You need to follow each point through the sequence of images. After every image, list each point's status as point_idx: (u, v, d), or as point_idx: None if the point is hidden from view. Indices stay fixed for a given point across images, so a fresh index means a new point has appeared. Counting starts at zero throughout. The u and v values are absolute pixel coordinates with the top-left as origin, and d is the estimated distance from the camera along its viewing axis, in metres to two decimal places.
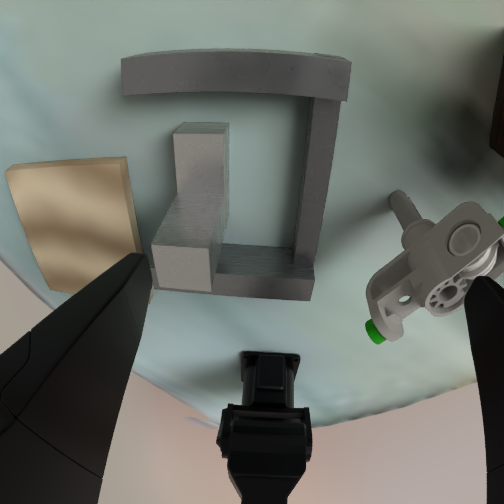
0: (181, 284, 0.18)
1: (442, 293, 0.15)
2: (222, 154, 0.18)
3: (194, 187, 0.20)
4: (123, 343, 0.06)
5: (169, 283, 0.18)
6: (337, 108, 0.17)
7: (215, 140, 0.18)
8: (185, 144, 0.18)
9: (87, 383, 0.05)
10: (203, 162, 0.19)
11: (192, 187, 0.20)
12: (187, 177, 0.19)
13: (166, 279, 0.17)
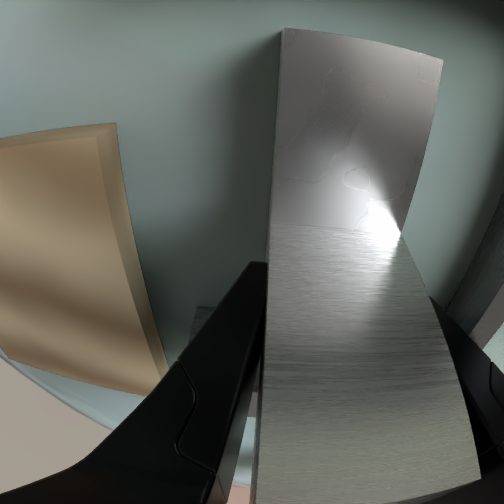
0: None
1: None
2: (429, 119, 0.05)
3: (326, 209, 0.07)
4: (257, 359, 0.06)
5: None
6: None
7: (419, 73, 0.05)
8: (324, 68, 0.05)
9: (242, 409, 0.05)
10: (370, 134, 0.06)
11: (320, 209, 0.07)
12: (311, 178, 0.06)
13: None
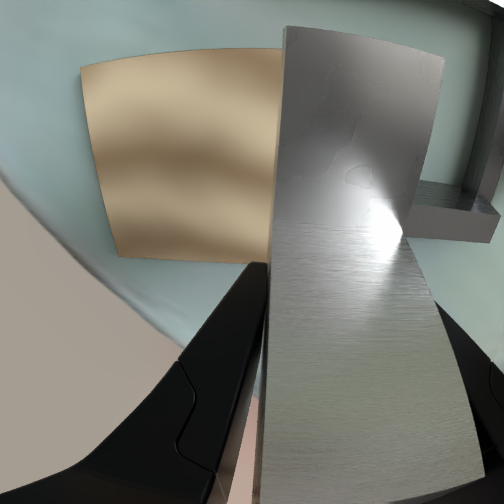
0: None
1: None
2: (431, 117, 0.05)
3: (328, 207, 0.07)
4: (257, 359, 0.06)
5: None
6: None
7: (421, 71, 0.05)
8: (326, 66, 0.05)
9: (243, 409, 0.05)
10: (372, 132, 0.05)
11: (322, 207, 0.07)
12: (313, 176, 0.06)
13: None
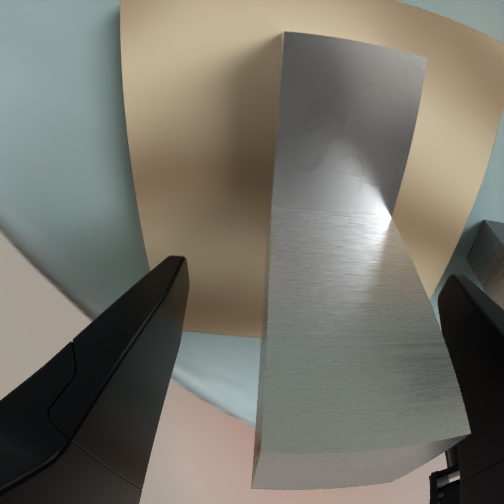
0: (321, 486, 0.05)
1: None
2: (415, 112, 0.06)
3: (322, 194, 0.07)
4: (166, 350, 0.06)
5: (286, 487, 0.05)
6: None
7: (405, 70, 0.05)
8: (319, 67, 0.05)
9: (135, 394, 0.05)
10: (361, 125, 0.06)
11: (316, 194, 0.07)
12: (308, 165, 0.07)
13: (280, 484, 0.05)
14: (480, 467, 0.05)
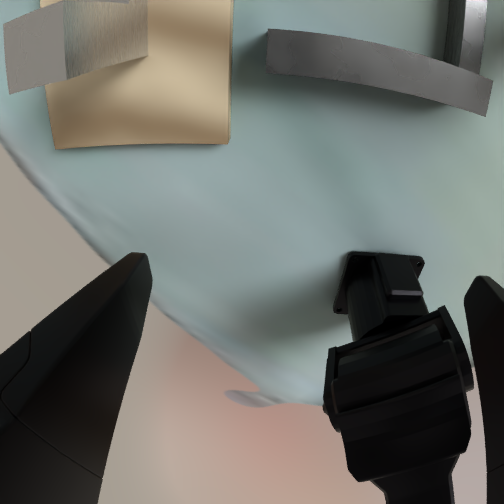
0: (31, 78, 0.08)
1: None
2: None
3: None
4: (123, 343, 0.06)
5: (18, 82, 0.08)
6: None
7: None
8: None
9: (87, 383, 0.05)
10: None
11: None
12: None
13: (15, 76, 0.08)
14: None
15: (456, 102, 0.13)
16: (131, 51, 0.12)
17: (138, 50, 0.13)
